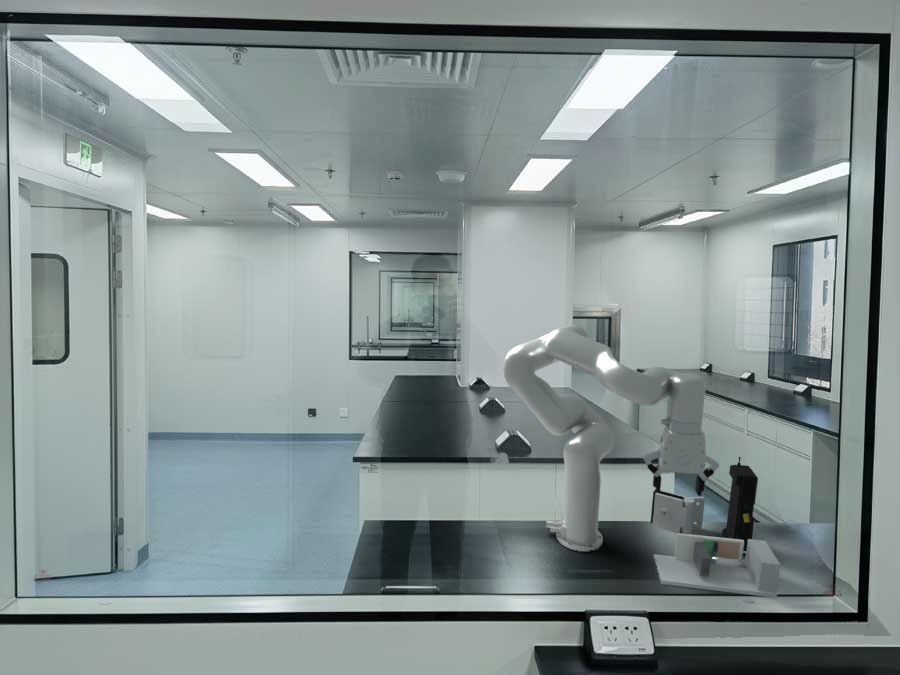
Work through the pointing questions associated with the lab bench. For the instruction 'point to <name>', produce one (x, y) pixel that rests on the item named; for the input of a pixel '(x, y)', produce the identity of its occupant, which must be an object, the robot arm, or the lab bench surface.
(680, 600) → the lab bench surface
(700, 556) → the plunger
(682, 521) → the hinge
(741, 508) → the portable radio
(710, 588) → the stand
